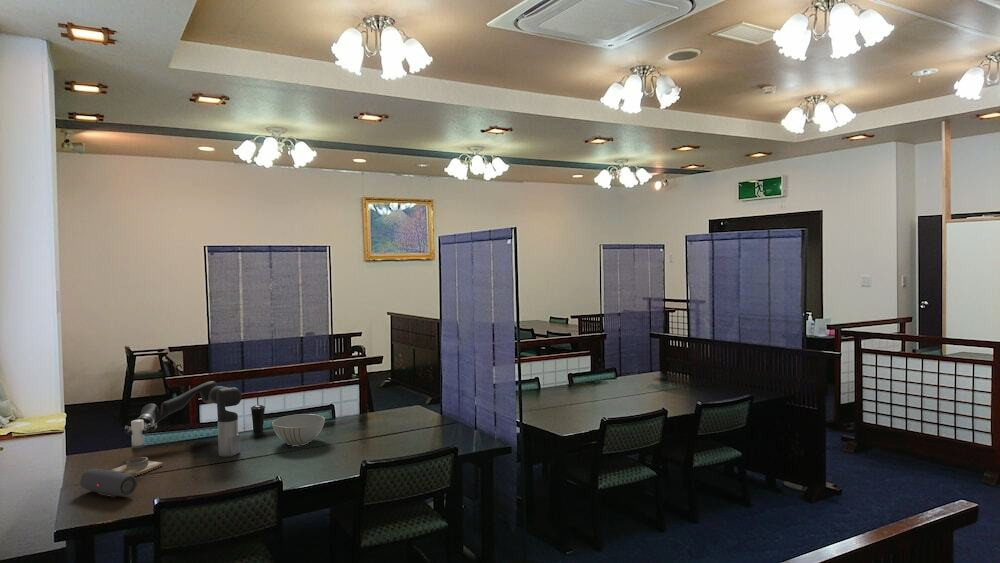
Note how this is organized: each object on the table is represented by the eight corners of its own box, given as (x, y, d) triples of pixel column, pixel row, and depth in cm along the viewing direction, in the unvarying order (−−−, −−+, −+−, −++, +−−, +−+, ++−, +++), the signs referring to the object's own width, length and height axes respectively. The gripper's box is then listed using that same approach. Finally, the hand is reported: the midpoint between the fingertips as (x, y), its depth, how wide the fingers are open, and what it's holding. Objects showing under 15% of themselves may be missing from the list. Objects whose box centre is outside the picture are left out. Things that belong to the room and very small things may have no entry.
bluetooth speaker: (79, 495, 259) (78, 471, 258) (100, 487, 267) (99, 464, 267) (118, 503, 251) (117, 478, 250) (138, 494, 259) (138, 471, 259)
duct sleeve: (147, 445, 292) (146, 419, 292) (137, 448, 287) (137, 423, 287) (138, 443, 294) (137, 419, 293) (129, 447, 289) (128, 422, 288)
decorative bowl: (284, 454, 311) (284, 430, 310) (264, 442, 331) (264, 419, 331) (334, 443, 329) (333, 421, 328) (312, 432, 349) (311, 411, 348)
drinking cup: (268, 429, 354) (267, 395, 353) (259, 433, 347) (258, 398, 346) (257, 428, 356) (256, 394, 355) (247, 432, 349) (247, 397, 348)
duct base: (163, 465, 294) (163, 456, 294) (136, 476, 280) (136, 466, 279) (138, 462, 298) (138, 453, 298) (110, 473, 284) (110, 463, 284)
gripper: (161, 429, 306) (153, 439, 290) (128, 431, 302) (118, 442, 286) (160, 414, 306) (153, 423, 290) (127, 416, 301) (118, 426, 285)
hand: (136, 433), depth 288 cm, fingers closed on duct sleeve, 5 cm apart
